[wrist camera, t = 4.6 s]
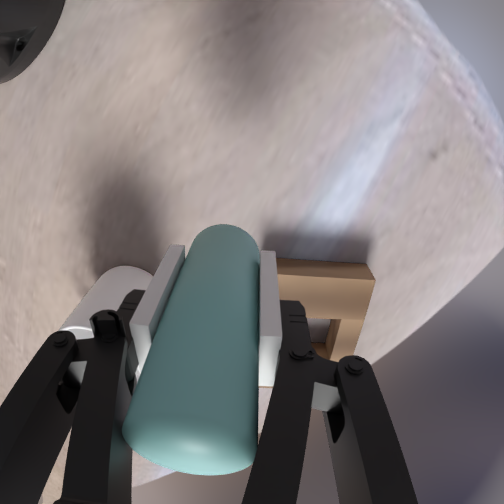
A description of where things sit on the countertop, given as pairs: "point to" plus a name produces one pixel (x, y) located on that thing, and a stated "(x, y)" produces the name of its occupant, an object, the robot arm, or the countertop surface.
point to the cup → (106, 298)
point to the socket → (329, 299)
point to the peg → (203, 363)
